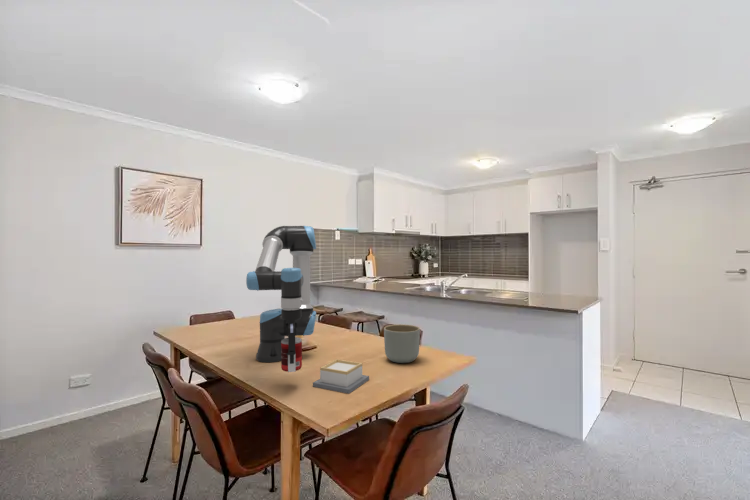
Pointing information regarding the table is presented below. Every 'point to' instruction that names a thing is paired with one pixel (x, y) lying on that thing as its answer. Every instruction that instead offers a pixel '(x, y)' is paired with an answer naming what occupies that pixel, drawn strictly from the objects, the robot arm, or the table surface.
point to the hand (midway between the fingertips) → (291, 367)
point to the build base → (341, 376)
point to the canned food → (285, 350)
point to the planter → (401, 342)
